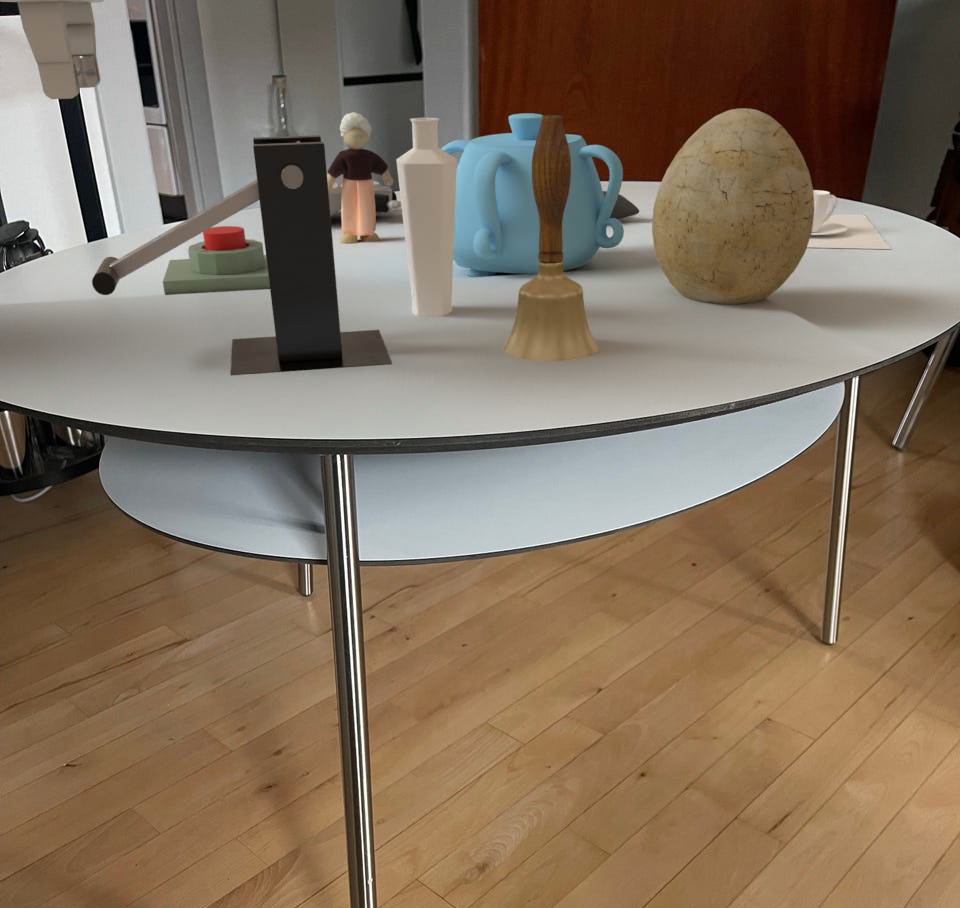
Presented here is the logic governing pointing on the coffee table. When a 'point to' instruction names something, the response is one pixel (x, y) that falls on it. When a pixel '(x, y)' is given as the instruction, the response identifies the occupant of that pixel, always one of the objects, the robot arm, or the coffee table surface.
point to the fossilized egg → (733, 210)
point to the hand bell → (551, 264)
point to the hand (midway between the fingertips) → (75, 92)
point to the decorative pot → (527, 202)
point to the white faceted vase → (428, 218)
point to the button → (224, 238)
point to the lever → (172, 238)
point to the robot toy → (383, 199)
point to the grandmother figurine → (357, 180)
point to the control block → (218, 270)
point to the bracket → (300, 268)
